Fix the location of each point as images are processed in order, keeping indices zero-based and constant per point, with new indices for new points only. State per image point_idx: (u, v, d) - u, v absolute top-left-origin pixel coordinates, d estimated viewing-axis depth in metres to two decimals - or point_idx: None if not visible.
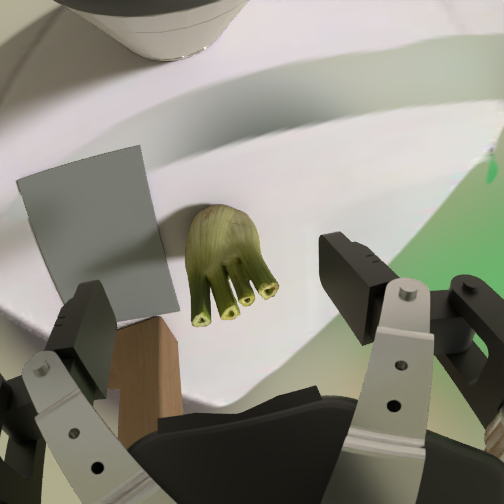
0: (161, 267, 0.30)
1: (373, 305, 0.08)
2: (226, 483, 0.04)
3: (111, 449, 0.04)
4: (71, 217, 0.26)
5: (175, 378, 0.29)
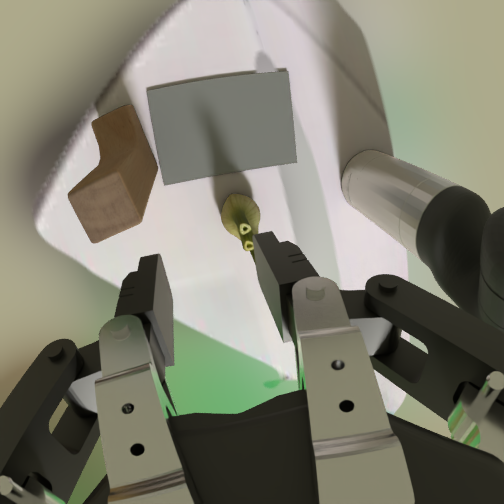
0: (207, 172, 0.39)
1: (286, 303, 0.09)
2: (226, 484, 0.04)
3: (158, 436, 0.04)
4: (254, 108, 0.37)
5: None
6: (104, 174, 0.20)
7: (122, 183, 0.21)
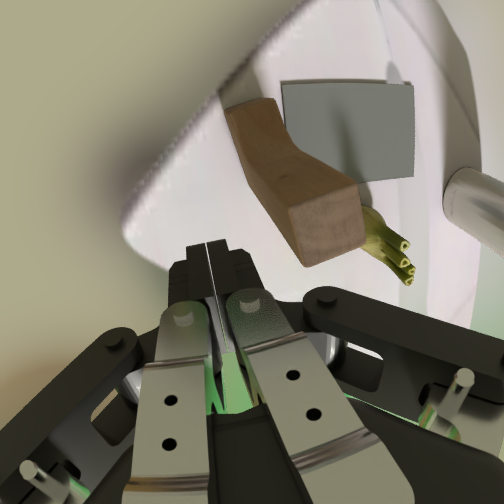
0: None
1: (226, 313, 0.09)
2: (226, 483, 0.04)
3: (194, 435, 0.04)
4: (384, 119, 0.34)
5: None
6: (340, 185, 0.18)
7: None
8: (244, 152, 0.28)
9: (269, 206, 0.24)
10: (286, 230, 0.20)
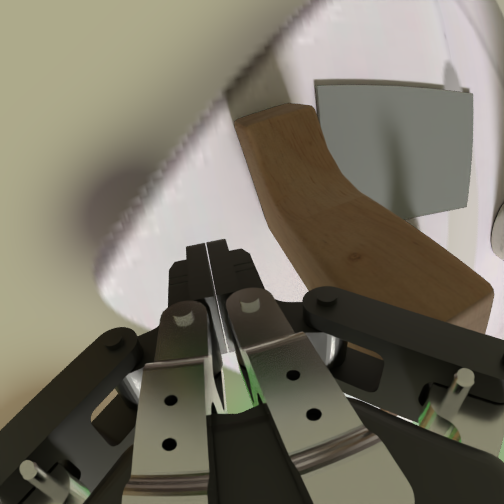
0: None
1: (226, 313, 0.09)
2: (226, 483, 0.04)
3: (194, 435, 0.04)
4: (441, 136, 0.24)
5: None
6: (473, 297, 0.08)
7: None
8: (270, 191, 0.18)
9: None
10: None
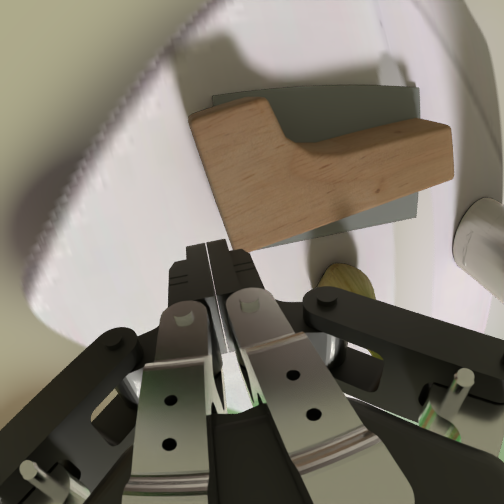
0: (303, 233, 0.26)
1: (226, 313, 0.09)
2: (226, 483, 0.04)
3: (194, 435, 0.04)
4: None
5: None
6: (422, 119, 0.22)
7: None
8: (304, 151, 0.18)
9: (389, 177, 0.20)
10: (435, 163, 0.20)
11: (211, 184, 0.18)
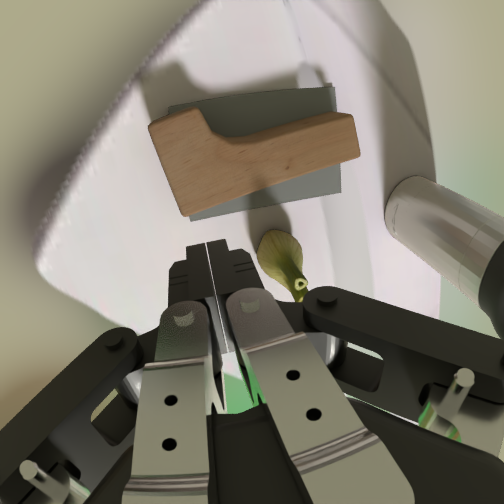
0: (241, 205, 0.34)
1: (226, 313, 0.09)
2: (226, 484, 0.04)
3: (194, 435, 0.04)
4: None
5: None
6: (335, 112, 0.30)
7: None
8: (226, 142, 0.26)
9: (296, 157, 0.28)
10: (339, 145, 0.28)
11: (163, 167, 0.26)
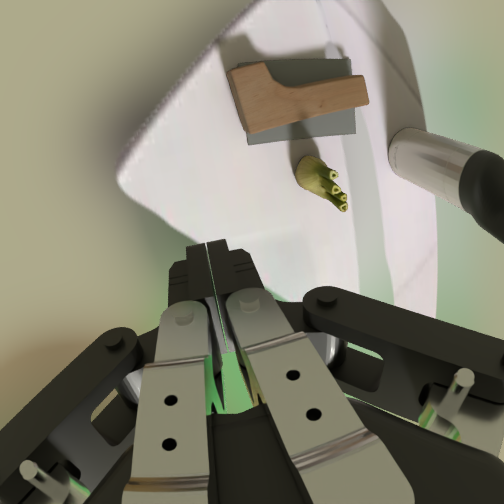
0: (285, 136, 0.45)
1: (226, 313, 0.09)
2: (226, 483, 0.04)
3: (194, 435, 0.04)
4: None
5: None
6: (351, 75, 0.41)
7: None
8: (281, 85, 0.37)
9: (327, 100, 0.39)
10: (355, 94, 0.39)
11: (239, 98, 0.37)
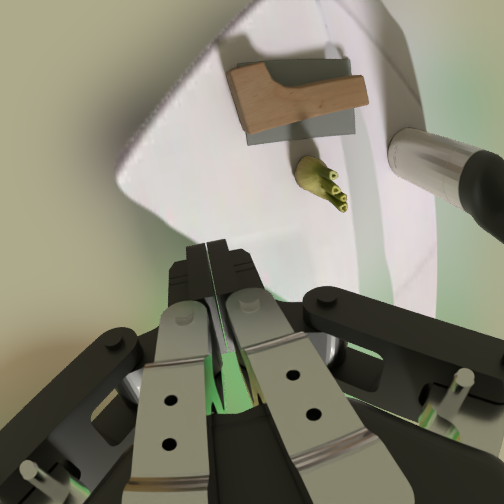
0: (285, 136, 0.45)
1: (226, 313, 0.09)
2: (226, 483, 0.04)
3: (194, 435, 0.04)
4: None
5: None
6: (351, 75, 0.41)
7: None
8: (281, 85, 0.37)
9: (326, 100, 0.39)
10: (354, 94, 0.39)
11: (238, 98, 0.37)
